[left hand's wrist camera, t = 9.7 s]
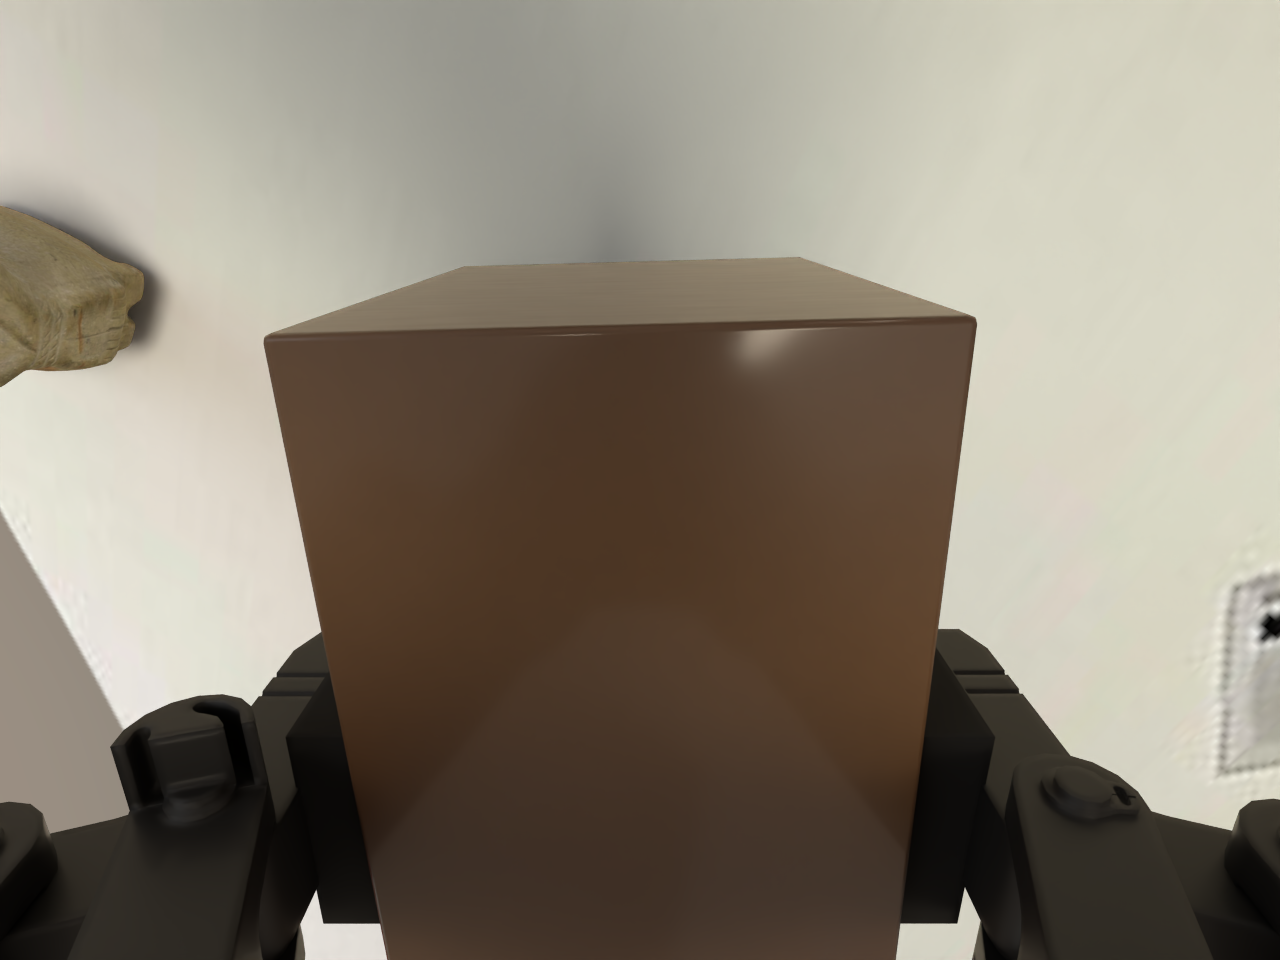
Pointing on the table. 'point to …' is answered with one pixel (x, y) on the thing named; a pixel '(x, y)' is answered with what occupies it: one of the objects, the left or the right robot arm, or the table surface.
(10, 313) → the sculpture
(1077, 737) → the table surface
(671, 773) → the beam
